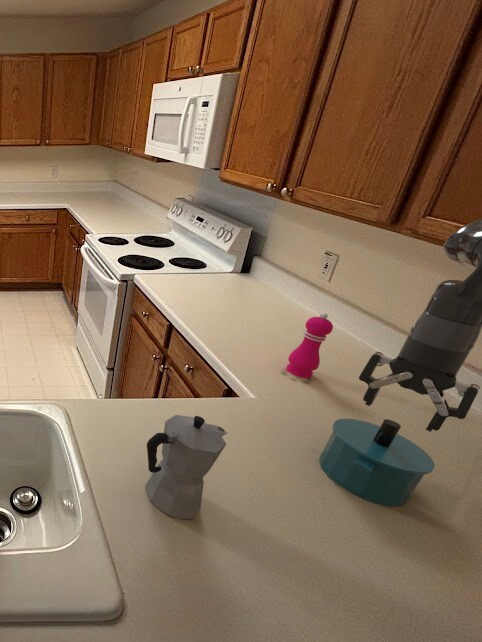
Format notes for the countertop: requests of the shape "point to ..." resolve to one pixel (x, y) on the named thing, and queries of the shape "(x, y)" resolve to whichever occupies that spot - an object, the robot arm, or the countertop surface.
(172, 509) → the coffeepot
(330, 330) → the pepper mill
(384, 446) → the lid
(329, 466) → the pot
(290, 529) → the countertop surface
